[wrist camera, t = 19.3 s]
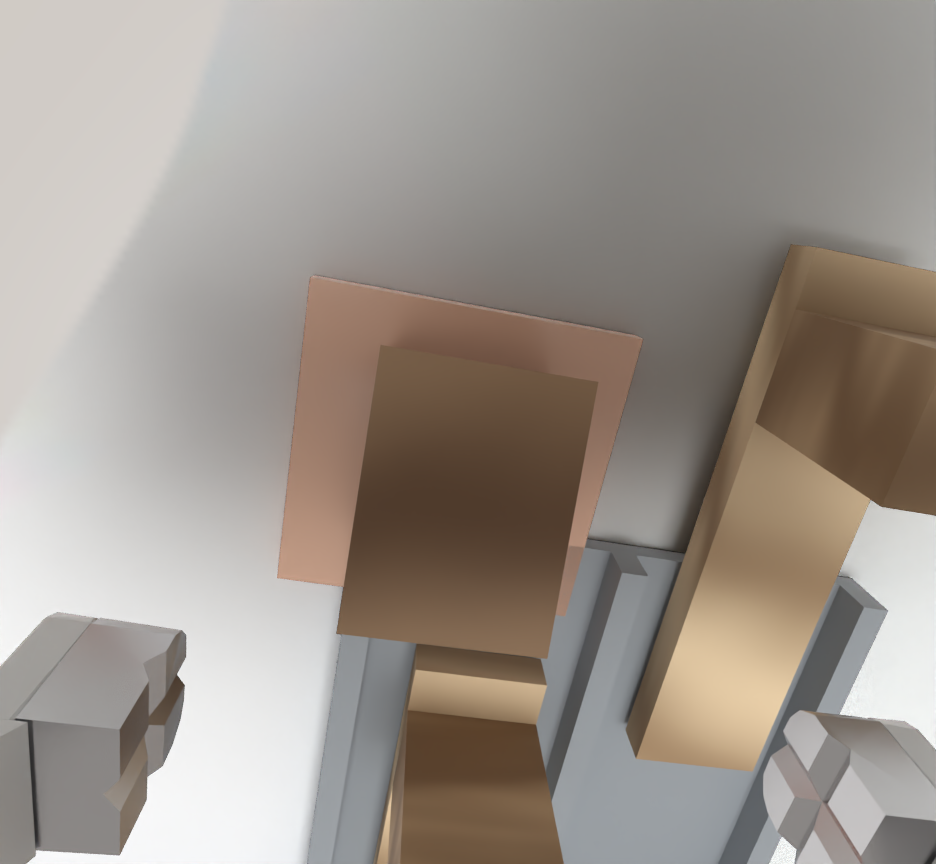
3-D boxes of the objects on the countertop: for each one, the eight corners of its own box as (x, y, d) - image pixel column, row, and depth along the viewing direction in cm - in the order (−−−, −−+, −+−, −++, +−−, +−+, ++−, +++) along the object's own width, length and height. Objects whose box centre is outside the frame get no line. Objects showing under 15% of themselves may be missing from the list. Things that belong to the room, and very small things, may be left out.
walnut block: (387, 349, 17) (380, 345, 13) (550, 377, 18) (598, 381, 13) (354, 565, 18) (336, 633, 13) (513, 586, 18) (547, 659, 14)
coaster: (314, 274, 17) (309, 277, 16) (636, 335, 18) (643, 339, 17) (281, 567, 20) (277, 577, 19) (561, 605, 21) (564, 616, 20)
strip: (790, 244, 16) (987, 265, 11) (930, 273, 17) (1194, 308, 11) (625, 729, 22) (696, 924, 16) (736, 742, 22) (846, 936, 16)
